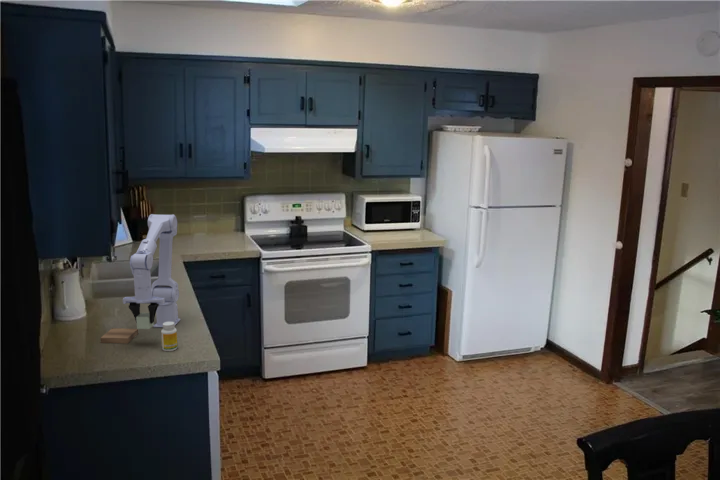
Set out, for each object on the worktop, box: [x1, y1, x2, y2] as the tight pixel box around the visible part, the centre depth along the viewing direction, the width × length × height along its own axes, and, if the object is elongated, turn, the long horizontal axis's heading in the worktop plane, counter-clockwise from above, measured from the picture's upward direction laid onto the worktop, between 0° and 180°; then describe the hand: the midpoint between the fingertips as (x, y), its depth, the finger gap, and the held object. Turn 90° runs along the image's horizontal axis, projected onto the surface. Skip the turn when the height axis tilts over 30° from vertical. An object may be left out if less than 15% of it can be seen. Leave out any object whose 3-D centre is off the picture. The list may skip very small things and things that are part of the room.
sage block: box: [135, 312, 155, 330], centre depth 226 cm, size 4×4×4 cm
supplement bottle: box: [160, 322, 179, 352], centre depth 222 cm, size 5×5×10 cm
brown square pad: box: [100, 327, 139, 345], centre depth 233 cm, size 10×10×2 cm
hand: (145, 322), depth 226 cm, fingers closed on sage block, 4 cm apart
